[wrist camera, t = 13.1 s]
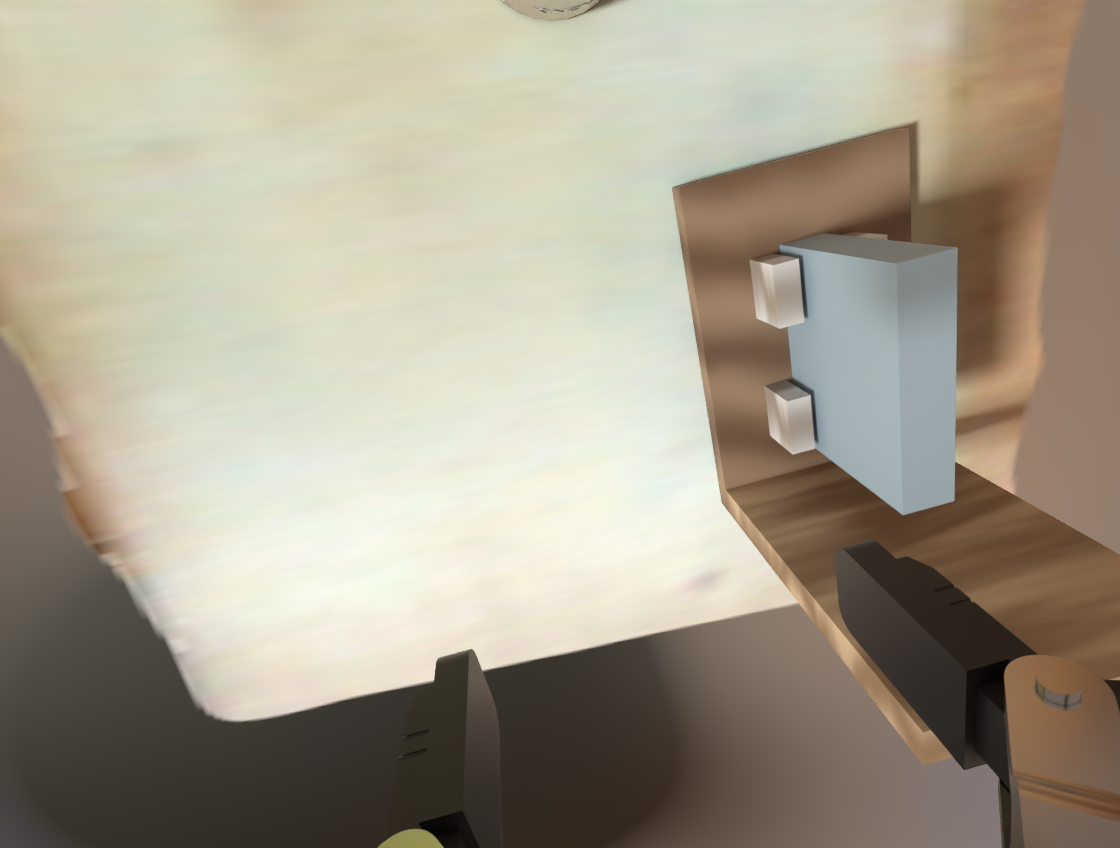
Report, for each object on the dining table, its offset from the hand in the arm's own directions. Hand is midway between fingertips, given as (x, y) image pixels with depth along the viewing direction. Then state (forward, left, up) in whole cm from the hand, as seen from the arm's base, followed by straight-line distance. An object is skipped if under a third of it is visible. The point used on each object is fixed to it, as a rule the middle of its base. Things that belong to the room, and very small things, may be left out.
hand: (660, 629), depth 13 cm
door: (+5, +18, -29) cm, 34 cm away
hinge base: (+5, +18, -30) cm, 35 cm away
